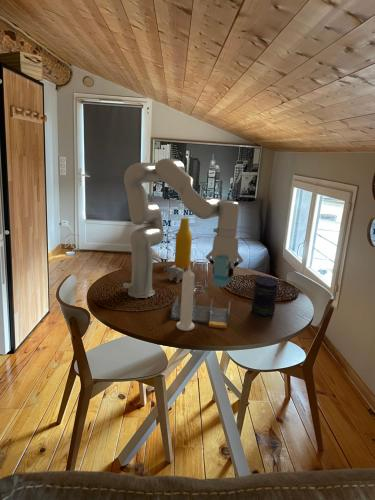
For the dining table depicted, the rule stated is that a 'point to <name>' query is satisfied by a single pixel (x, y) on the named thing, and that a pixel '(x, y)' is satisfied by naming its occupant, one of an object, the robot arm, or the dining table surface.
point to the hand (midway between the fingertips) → (222, 275)
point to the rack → (204, 314)
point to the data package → (221, 271)
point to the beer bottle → (183, 245)
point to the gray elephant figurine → (175, 272)
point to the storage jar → (264, 297)
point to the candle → (187, 301)
